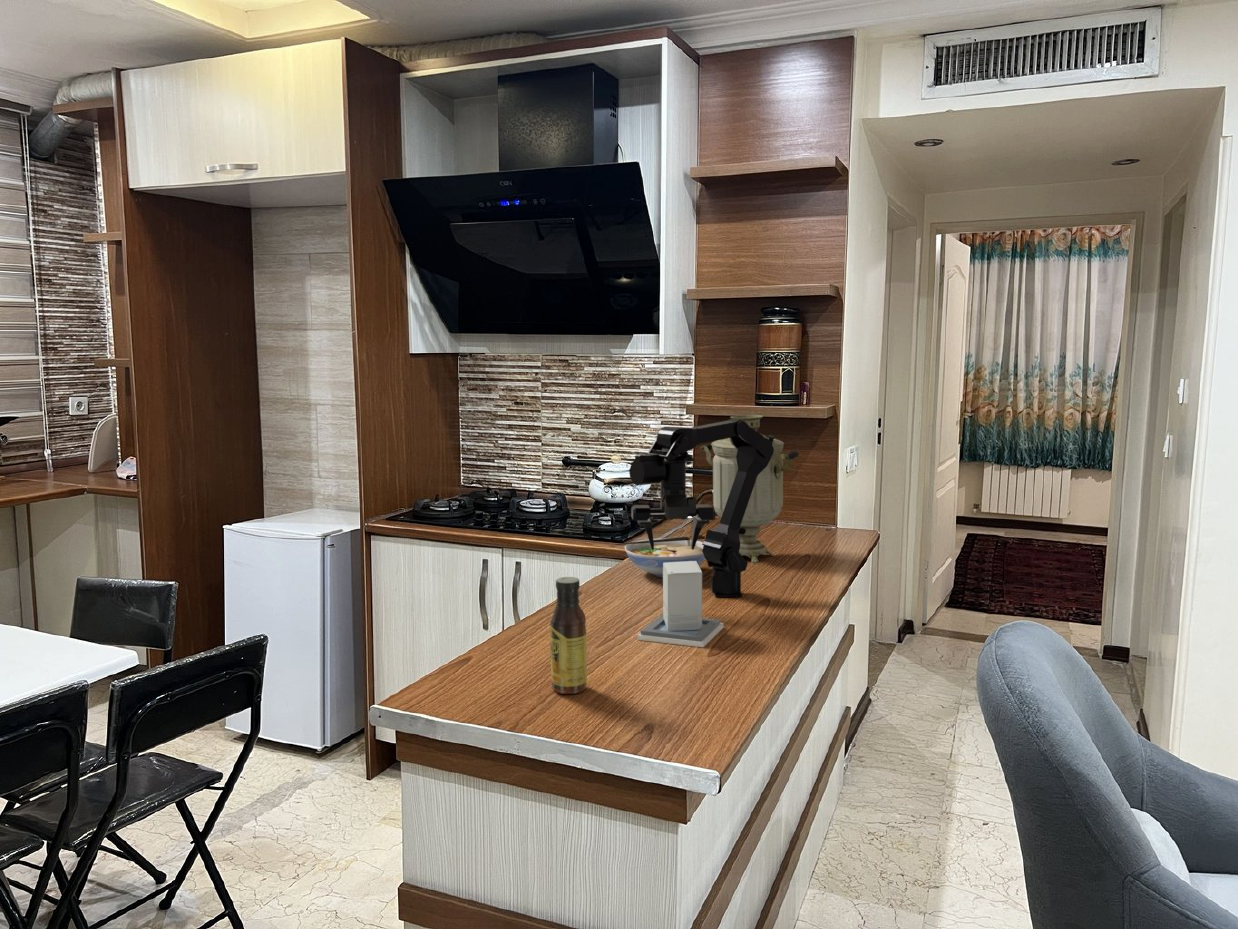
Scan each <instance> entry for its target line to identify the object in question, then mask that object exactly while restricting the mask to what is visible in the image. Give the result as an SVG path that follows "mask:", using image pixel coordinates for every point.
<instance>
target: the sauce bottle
mask: <svg viewBox="0 0 1238 929" xmlns="http://www.w3.org/2000/svg"><path fill="white" fill-rule="evenodd" d="M580 585H581V584H580V579H579V578H578V577H574V576H563V577H562V576H561V577H559V578H557V579H556V580H555V587H556V588H555V589H556V605H555V608H554V611H553V614H552V618H551V620H550V623H549V624H550V626H549V627H550V628H549V632H550V634H549V636H550V638H549V639H550V680H551V687H552V689H553V690H554V691H555V692H556V693H557V694H561V695H562V694H563V695H572V694H573V695H575V694H580V693H582V692H583V691H584V690H585V689H586V687H587V681H588V670H587V669H588V668H587V666H588V665H587V664H588V663H587V662H588V661H587V658H588V656H587V654H588V653H587V630H586V629H587V628H586V623H587V622H586V615H585V612H584V610H583V609H582V608H581V606H580V605H579V604H580V600H579V589H580Z"/></svg>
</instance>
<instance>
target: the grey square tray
mask: <svg viewBox="0 0 1238 929" xmlns="http://www.w3.org/2000/svg"><path fill="white" fill-rule="evenodd" d="M723 629H724V623H723V622H721V619H715V618H705V617H702V629H700V630H682V631H668V630H667V627H666V624H665V621H664V618H663V613H662V614H660V615H659V616H658V617H656V618H655V619H654V620H652V622H650V623H649V624H647V625H646V626H644V627H643V628H642V629H641V630H640V633H638V634H637V641H644V642H645V641H646V642H653V643H662V644H663V643H664V644H670V645H680V646H688V647H696V648H705V646H707V644H708V643H709V642H711V641H712V640H713V639H714V638H715V637H716V635H718V634H719V632H721V631H722V630H723Z"/></svg>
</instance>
